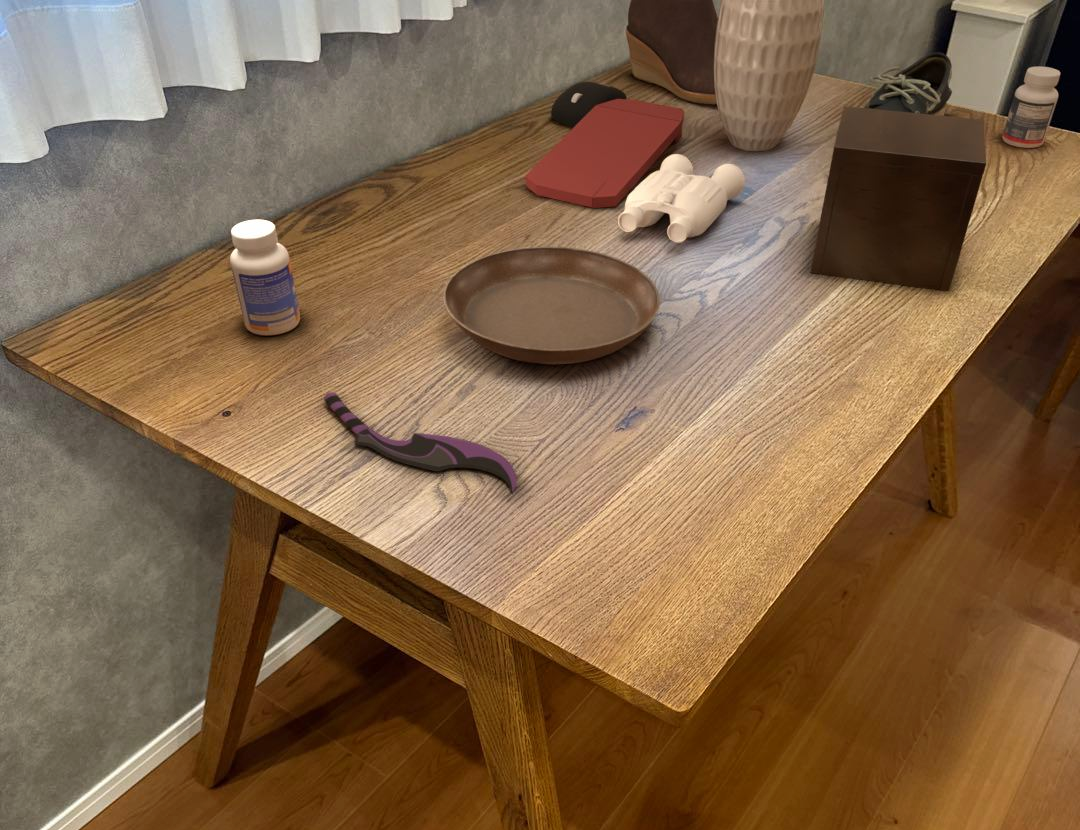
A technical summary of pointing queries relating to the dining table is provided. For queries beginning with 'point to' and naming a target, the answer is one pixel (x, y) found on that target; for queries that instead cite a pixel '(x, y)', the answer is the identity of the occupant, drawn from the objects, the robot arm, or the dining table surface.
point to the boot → (674, 46)
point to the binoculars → (681, 198)
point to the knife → (426, 448)
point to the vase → (764, 66)
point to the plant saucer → (551, 303)
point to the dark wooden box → (899, 197)
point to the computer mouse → (582, 101)
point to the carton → (606, 153)
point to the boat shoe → (915, 87)
